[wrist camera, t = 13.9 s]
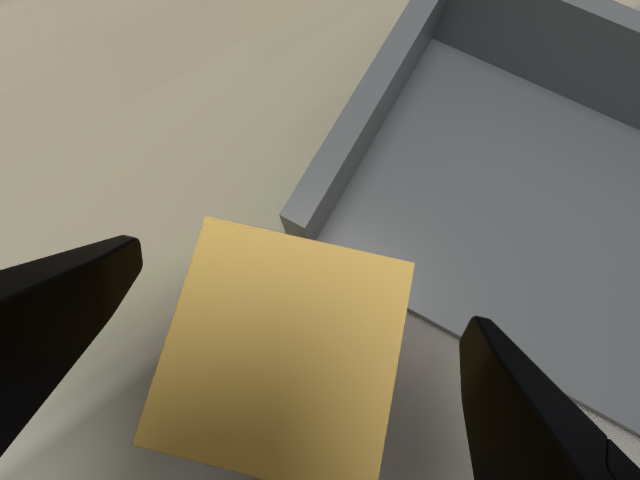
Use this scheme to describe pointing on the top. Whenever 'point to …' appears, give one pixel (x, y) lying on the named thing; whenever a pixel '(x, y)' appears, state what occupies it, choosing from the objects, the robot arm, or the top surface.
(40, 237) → the top surface
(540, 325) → the open box
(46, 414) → the top surface
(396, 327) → the ochre block
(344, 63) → the top surface
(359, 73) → the top surface
